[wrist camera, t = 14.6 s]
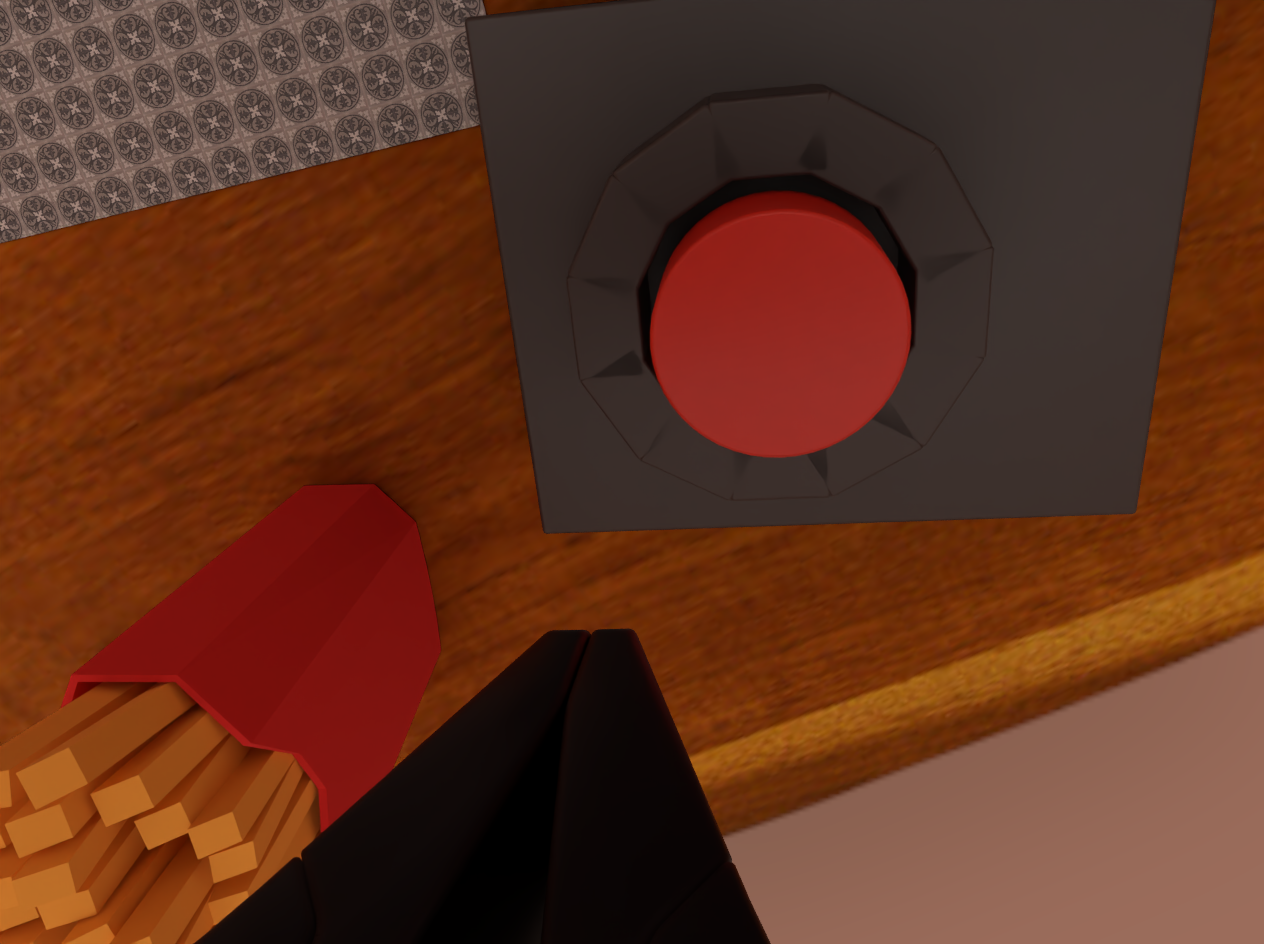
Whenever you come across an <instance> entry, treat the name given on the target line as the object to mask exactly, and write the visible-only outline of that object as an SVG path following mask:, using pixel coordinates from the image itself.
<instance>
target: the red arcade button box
mask: <svg viewBox="0 0 1264 944" xmlns="http://www.w3.org/2000/svg"><path fill="white" fill-rule="evenodd" d="M1215 5H1216V0H619V1H610V2H601V3H592V4H583V5H573V6H564V7H555V8H546V9H537V10H528V11H519V12H510V13H501V14H491V15H482V16H473V17H468V18H466V19H465V23H464V24H465V30H466V37H467V43H468V50H469V56H470V63H471V69H472V75H473V82H474V88H475V95H476V101H477V108H478V114H479V121H480V127H481V134H482V140H483V147H484V153H485V159H486V166H487V172H488V179H489V185H490V192H491V198H492V205H493V211H494V218H495V224H496V231H497V237H498V243H499V250H500V256H501V263H502V269H503V276H504V282H505V289H506V295H507V302H508V308H509V315H510V321H511V327H512V334H513V340H514V347H515V353H516V360H517V366H518V373H519V379H520V386H521V392H522V399H523V405H524V411H525V418H526V424H527V431H528V437H529V444H530V450H531V457H532V463H533V470H534V476H535V483H536V489H537V495H538V502H539V508H540V515H541V521H542V528H543V531H544V533H546V534H550V533H579V532H609V531H638V530H668V529H698V528H727V527H757V526H786V525H816V524H845V523H875V522H904V521H934V520H964V519H993V518H1023V517H1052V516H1082V515H1111V514H1133V513H1135V512H1136V509H1137V502H1138V496H1139V490H1140V483H1141V477H1142V471H1143V464H1144V458H1145V451H1146V445H1147V439H1148V432H1149V426H1150V420H1151V413H1152V407H1153V400H1154V394H1155V388H1156V381H1157V375H1158V369H1159V362H1160V356H1161V349H1162V343H1163V337H1164V330H1165V324H1166V317H1167V311H1168V305H1169V298H1170V292H1171V286H1172V279H1173V273H1174V266H1175V260H1176V254H1177V247H1178V241H1179V235H1180V228H1181V222H1182V215H1183V209H1184V203H1185V196H1186V190H1187V183H1188V177H1189V171H1190V164H1191V158H1192V152H1193V145H1194V139H1195V132H1196V126H1197V120H1198V113H1199V107H1200V101H1201V94H1202V88H1203V81H1204V75H1205V69H1206V62H1207V56H1208V50H1209V43H1210V37H1211V30H1212V24H1213V18H1214V11H1215ZM784 190H788V191H796V192H804V193H808V194H811V195H815V196H819V197H822V198H824V199H826V200H829V201H831V202H834V203H835V204H837V205H839V206H840V207H842V208H844V209H846V210H847V211H849V212H850V213H851V214H852V215H854V216H855V217H856V218H857V219H859V220H860V221H861V222H862V223H863V224H864V225H865V226H866V227H867V229H868V230H869V231H870V232H871V233H872V234H873V236H874V237H875V239H876V240H877V242H878V243H879V244H880V246H881V247H882V249H883V251H884V252H885V254H886V255H887V257H888V258H889V260H890V261H891V263H892V264H893V266H894V267H895V269H896V271H897V273H898V275H899V277H900V279H901V281H902V283H903V286H904V289H905V292H906V295H907V298H908V302H909V308H910V314H911V341H910V350H909V354H908V358H907V362H906V366H905V368H904V371H903V373H902V376H901V378H900V381H899V382H898V384H897V386H896V388H895V390H894V391H893V393H892V395H891V396H890V398H889V399H888V400H887V402H886V403H885V405H884V406H883V407H882V409H881V410H880V411H879V412H878V413H877V414H876V415H875V416H874V417H873V418H872V419H871V420H870V421H869V422H868V423H866V424H865V425H864V426H863V427H862V428H860V429H859V430H858V431H857V432H855V433H854V434H852V435H850V436H849V437H847V438H846V439H844V440H842V441H840V442H838V443H836V444H834V445H832V446H830V447H828V448H825V449H822V450H819V451H816V452H813V453H809V454H804V455H800V456H792V457H782V458H777V457H760V456H752V455H747V454H743V453H740V452H736V451H733V450H730V449H728V448H725V447H723V446H720V445H718V444H716V443H714V442H713V441H711V440H709V439H707V438H705V437H704V436H703V435H701V434H700V433H698V432H697V431H696V430H694V429H693V428H692V427H691V426H690V425H689V424H688V423H686V422H685V421H684V420H683V419H682V418H681V417H680V415H679V414H678V413H677V412H676V411H675V409H674V408H673V407H672V406H671V404H670V402H669V401H668V399H667V398H666V396H665V394H664V393H663V391H662V388H661V386H660V384H659V382H658V380H657V377H656V373H655V370H654V367H653V363H652V357H651V351H650V325H651V316H652V312H653V308H654V304H655V300H656V297H657V293H658V290H659V286H660V283H661V279H662V276H663V273H664V271H665V268H666V266H667V263H668V261H669V259H670V257H671V255H672V253H673V252H674V250H675V248H676V246H677V245H678V244H679V242H680V241H681V240H682V238H683V237H684V236H685V234H686V233H687V232H688V231H689V230H690V229H691V228H692V227H693V226H694V225H695V224H696V223H697V222H698V221H700V220H701V219H702V218H703V217H705V216H706V215H707V214H708V213H710V212H711V211H713V210H715V209H716V208H718V207H720V206H721V205H723V204H725V203H727V202H730V201H732V200H734V199H737V198H739V197H743V196H746V195H750V194H753V193H759V192H765V191H784Z"/></svg>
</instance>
